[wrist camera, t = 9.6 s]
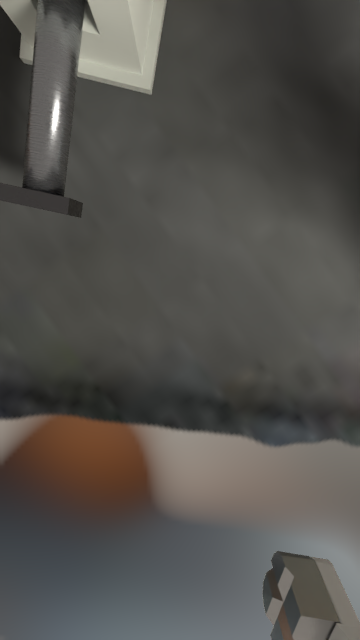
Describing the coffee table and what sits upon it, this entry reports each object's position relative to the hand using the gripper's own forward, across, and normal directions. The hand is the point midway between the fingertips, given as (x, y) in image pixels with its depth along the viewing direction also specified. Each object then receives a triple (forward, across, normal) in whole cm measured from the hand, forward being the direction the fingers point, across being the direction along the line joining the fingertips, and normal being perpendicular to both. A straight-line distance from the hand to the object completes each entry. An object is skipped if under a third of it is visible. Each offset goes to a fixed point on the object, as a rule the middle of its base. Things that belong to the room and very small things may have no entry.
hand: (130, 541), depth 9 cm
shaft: (+22, +12, -17) cm, 30 cm away
